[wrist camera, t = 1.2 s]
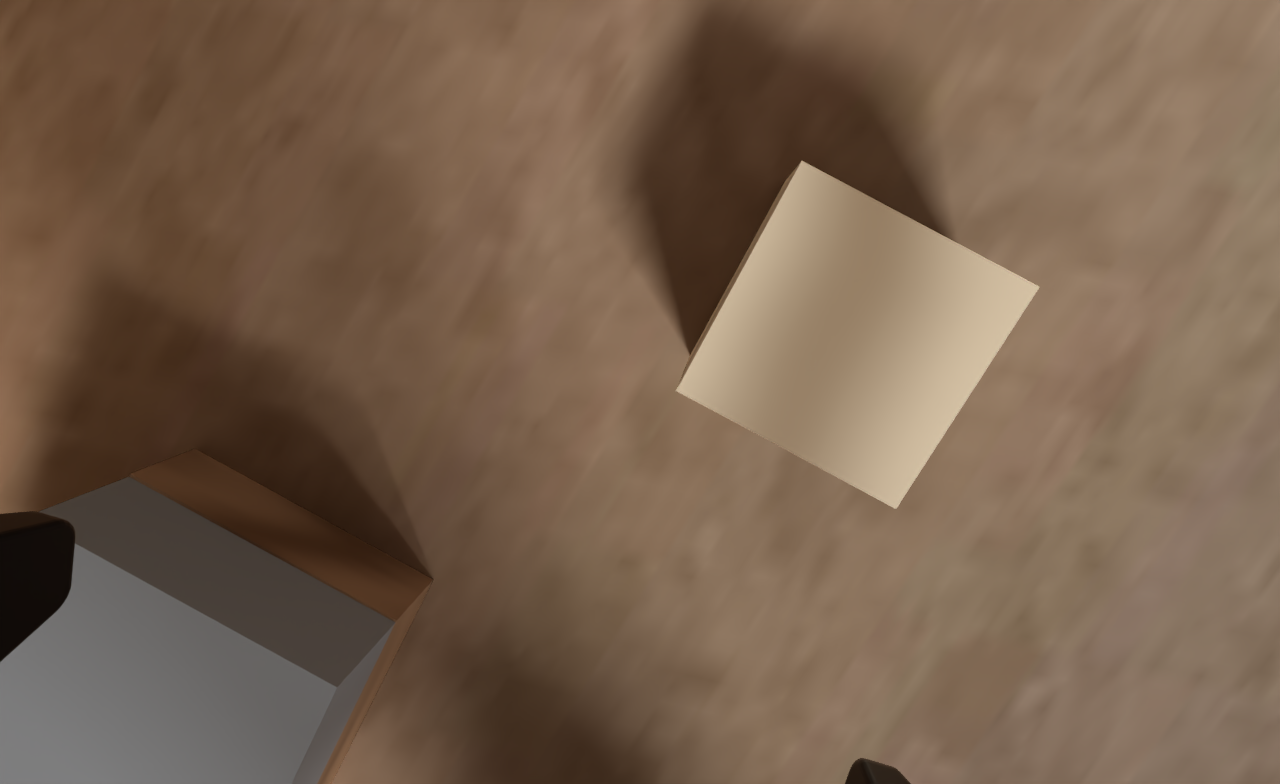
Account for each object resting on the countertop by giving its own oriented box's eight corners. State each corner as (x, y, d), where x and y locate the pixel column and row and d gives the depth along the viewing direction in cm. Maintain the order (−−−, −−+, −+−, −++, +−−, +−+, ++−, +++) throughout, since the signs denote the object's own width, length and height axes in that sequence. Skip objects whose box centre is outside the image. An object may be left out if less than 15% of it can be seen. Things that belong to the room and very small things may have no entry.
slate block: (395, 622, 20) (337, 687, 17) (287, 845, 22) (217, 938, 19) (129, 476, 20) (25, 516, 17) (43, 710, 22) (-64, 781, 19)
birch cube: (961, 275, 19) (1039, 287, 14) (857, 444, 20) (895, 509, 15) (784, 181, 19) (801, 160, 14) (690, 355, 20) (676, 390, 15)
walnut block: (440, 572, 23) (396, 620, 20) (339, 772, 25) (286, 843, 22) (206, 444, 23) (130, 473, 20) (124, 652, 25) (43, 706, 22)
